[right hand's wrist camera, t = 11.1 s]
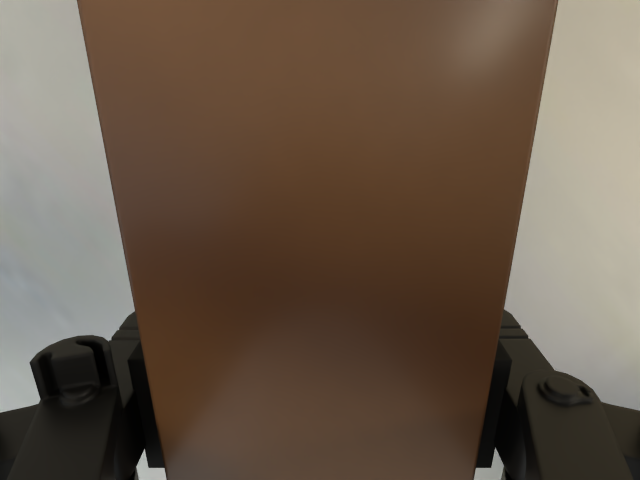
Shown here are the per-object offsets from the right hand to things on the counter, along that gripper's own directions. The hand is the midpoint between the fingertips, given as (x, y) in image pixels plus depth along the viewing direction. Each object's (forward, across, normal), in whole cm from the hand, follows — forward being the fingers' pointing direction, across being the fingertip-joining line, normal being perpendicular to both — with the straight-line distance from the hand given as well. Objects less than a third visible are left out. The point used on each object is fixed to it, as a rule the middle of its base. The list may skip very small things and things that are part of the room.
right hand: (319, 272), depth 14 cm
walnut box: (+1, 0, -11) cm, 11 cm away
